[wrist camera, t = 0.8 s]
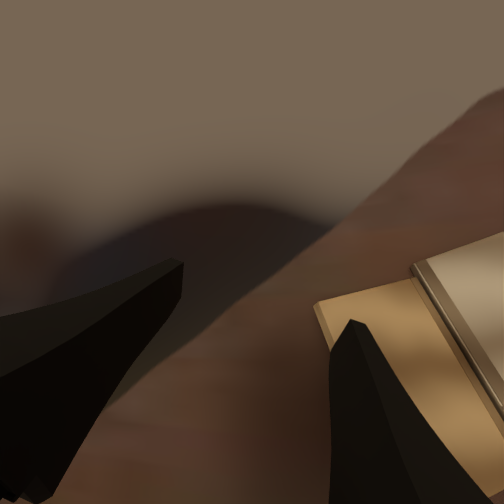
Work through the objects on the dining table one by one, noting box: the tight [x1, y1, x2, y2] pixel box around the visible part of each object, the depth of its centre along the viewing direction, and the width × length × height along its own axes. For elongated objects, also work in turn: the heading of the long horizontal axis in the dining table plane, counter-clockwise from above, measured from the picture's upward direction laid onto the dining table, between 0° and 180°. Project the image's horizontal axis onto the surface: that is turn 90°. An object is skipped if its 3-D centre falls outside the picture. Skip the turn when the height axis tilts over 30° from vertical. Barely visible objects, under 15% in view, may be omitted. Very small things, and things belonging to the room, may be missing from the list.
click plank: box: [313, 277, 504, 498], centre depth 17 cm, size 13×9×1 cm
